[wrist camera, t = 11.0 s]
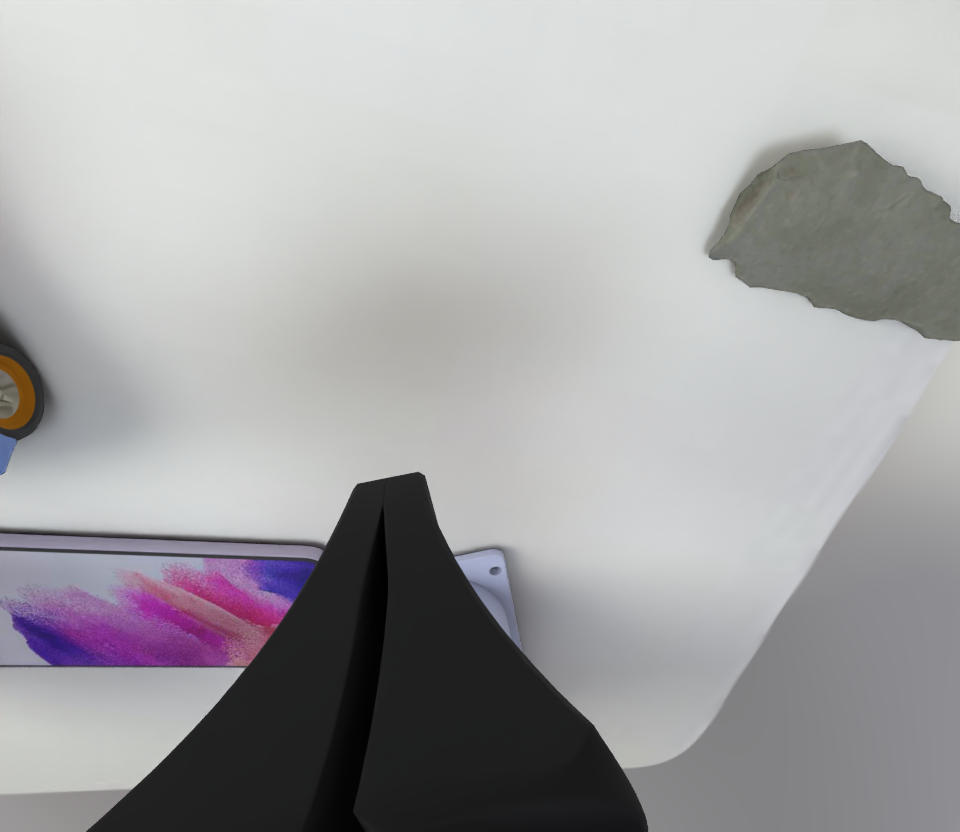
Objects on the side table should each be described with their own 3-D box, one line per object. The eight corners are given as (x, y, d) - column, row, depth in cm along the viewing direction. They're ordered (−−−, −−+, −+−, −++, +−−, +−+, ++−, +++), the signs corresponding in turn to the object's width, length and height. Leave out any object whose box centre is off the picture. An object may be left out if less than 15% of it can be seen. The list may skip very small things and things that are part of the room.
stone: (802, 93, 17) (685, 236, 20) (829, 115, 16) (698, 265, 19) (1066, 282, 21) (934, 379, 24) (1109, 314, 19) (961, 413, 23)
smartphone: (-108, 540, 21) (328, 556, 24) (-91, 523, 22) (330, 541, 25) (-52, 670, 25) (321, 671, 28) (-39, 652, 26) (323, 654, 28)
